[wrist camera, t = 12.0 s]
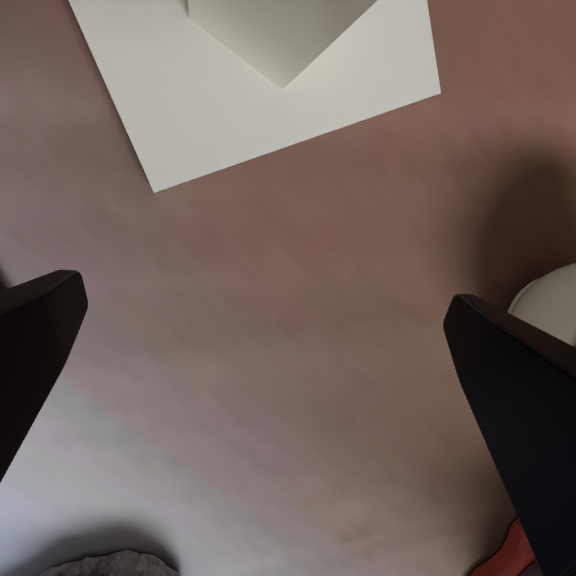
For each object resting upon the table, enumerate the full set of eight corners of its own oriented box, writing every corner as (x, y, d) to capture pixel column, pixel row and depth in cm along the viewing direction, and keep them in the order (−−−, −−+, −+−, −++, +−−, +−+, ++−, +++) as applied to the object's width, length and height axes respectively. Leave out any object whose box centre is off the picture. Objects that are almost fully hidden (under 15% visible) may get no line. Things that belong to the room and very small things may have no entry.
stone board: (156, 191, 19) (154, 192, 18) (26, -102, 15) (14, -121, 14) (429, 96, 21) (440, 92, 20) (384, -188, 17) (395, -210, 16)
